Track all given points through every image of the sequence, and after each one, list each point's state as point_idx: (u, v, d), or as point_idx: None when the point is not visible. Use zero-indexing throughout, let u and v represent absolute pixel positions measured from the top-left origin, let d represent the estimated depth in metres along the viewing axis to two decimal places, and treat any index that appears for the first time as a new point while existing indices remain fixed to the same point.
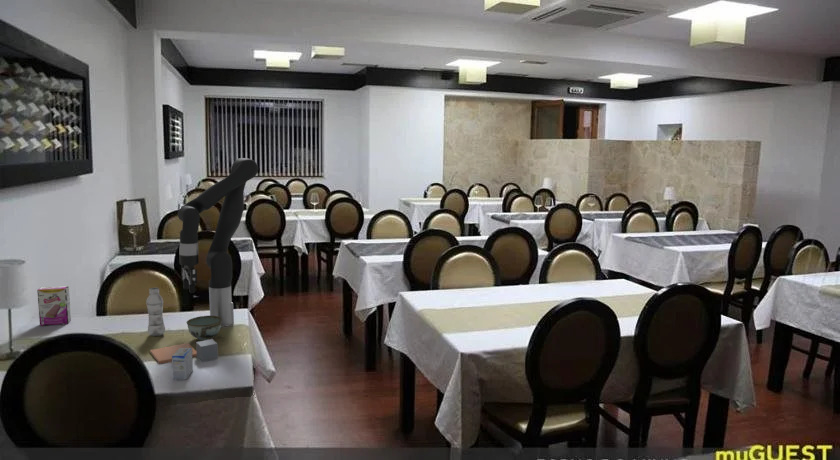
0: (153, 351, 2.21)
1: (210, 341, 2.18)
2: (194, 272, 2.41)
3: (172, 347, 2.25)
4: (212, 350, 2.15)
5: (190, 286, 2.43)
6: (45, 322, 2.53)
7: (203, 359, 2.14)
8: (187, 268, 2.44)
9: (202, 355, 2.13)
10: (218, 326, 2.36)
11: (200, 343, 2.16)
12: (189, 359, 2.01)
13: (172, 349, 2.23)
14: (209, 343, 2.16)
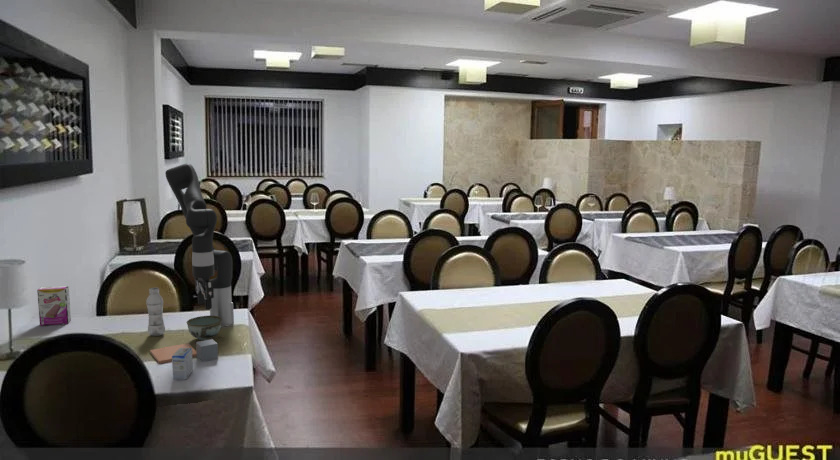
0: (153, 351, 2.21)
1: (210, 341, 2.18)
2: (210, 285, 2.08)
3: (172, 347, 2.25)
4: (212, 350, 2.15)
5: (206, 301, 2.10)
6: (45, 322, 2.53)
7: (203, 359, 2.14)
8: (202, 280, 2.11)
9: (202, 355, 2.13)
10: (218, 326, 2.36)
11: (200, 343, 2.16)
12: (189, 359, 2.01)
13: (172, 349, 2.23)
14: (209, 343, 2.16)
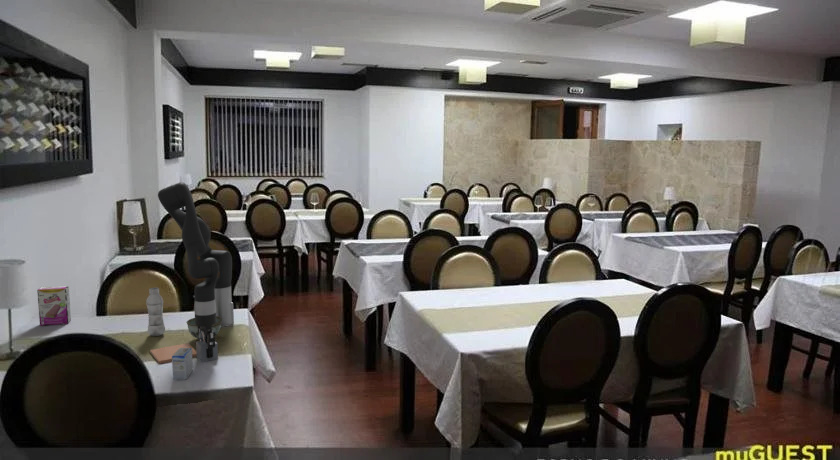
0: (153, 351, 2.21)
1: None
2: (212, 336, 2.11)
3: (172, 347, 2.25)
4: None
5: (207, 350, 2.14)
6: (45, 322, 2.53)
7: (203, 359, 2.14)
8: (204, 329, 2.14)
9: (202, 354, 2.13)
10: (218, 326, 2.36)
11: (200, 343, 2.16)
12: (189, 359, 2.01)
13: (172, 349, 2.23)
14: None
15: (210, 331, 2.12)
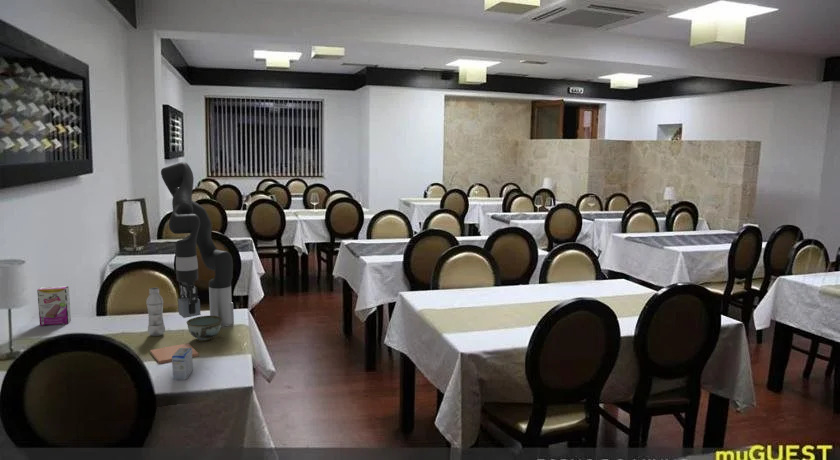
0: (153, 351, 2.21)
1: None
2: (194, 291, 2.11)
3: (172, 347, 2.25)
4: None
5: (190, 306, 2.13)
6: (45, 322, 2.53)
7: (185, 315, 2.14)
8: (186, 285, 2.14)
9: (184, 310, 2.13)
10: (218, 326, 2.36)
11: (182, 299, 2.16)
12: (189, 359, 2.01)
13: (172, 349, 2.23)
14: None
15: (192, 287, 2.12)
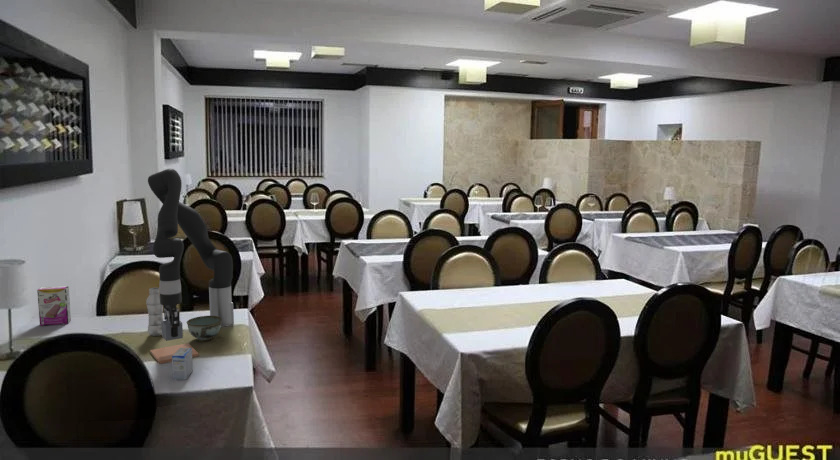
0: (153, 351, 2.21)
1: None
2: (176, 315, 2.13)
3: (172, 347, 2.25)
4: None
5: (172, 329, 2.16)
6: (45, 322, 2.53)
7: (167, 338, 2.16)
8: (169, 308, 2.16)
9: (166, 333, 2.16)
10: (218, 326, 2.36)
11: (165, 322, 2.18)
12: (189, 359, 2.01)
13: (172, 349, 2.23)
14: (174, 322, 2.18)
15: (174, 310, 2.15)
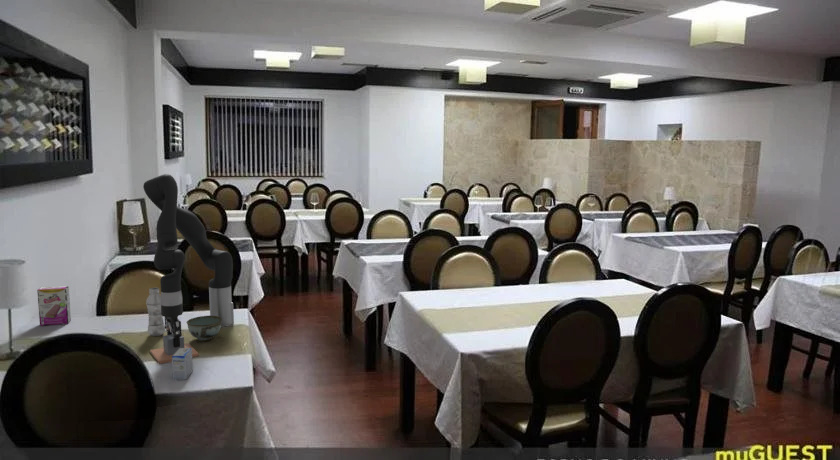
0: (153, 351, 2.21)
1: None
2: (178, 324, 2.14)
3: None
4: None
5: (174, 340, 2.16)
6: (45, 322, 2.53)
7: (169, 352, 2.17)
8: (170, 319, 2.17)
9: (168, 348, 2.16)
10: (218, 326, 2.36)
11: (167, 337, 2.19)
12: (189, 359, 2.01)
13: None
14: None
15: (176, 321, 2.15)
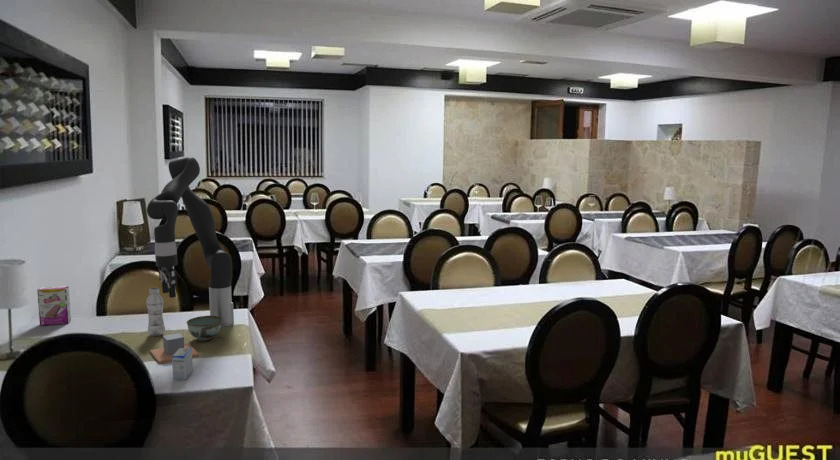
0: (153, 351, 2.21)
1: (177, 335, 2.21)
2: (173, 274, 2.14)
3: None
4: (178, 344, 2.19)
5: (170, 290, 2.16)
6: (45, 322, 2.53)
7: (169, 352, 2.17)
8: (165, 270, 2.17)
9: (168, 348, 2.16)
10: (218, 326, 2.36)
11: (167, 337, 2.19)
12: (189, 359, 2.01)
13: None
14: (175, 337, 2.19)
15: (171, 271, 2.16)
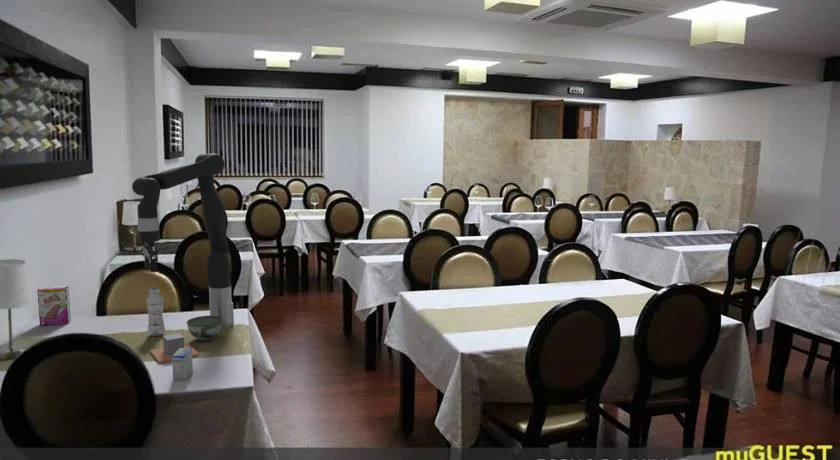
0: (153, 351, 2.21)
1: (177, 335, 2.21)
2: (154, 249, 2.22)
3: None
4: (178, 344, 2.19)
5: (151, 264, 2.24)
6: (45, 322, 2.53)
7: (169, 352, 2.17)
8: (147, 245, 2.25)
9: (168, 348, 2.16)
10: (218, 326, 2.36)
11: (167, 337, 2.19)
12: (189, 359, 2.01)
13: None
14: (175, 337, 2.19)
15: (152, 246, 2.23)
